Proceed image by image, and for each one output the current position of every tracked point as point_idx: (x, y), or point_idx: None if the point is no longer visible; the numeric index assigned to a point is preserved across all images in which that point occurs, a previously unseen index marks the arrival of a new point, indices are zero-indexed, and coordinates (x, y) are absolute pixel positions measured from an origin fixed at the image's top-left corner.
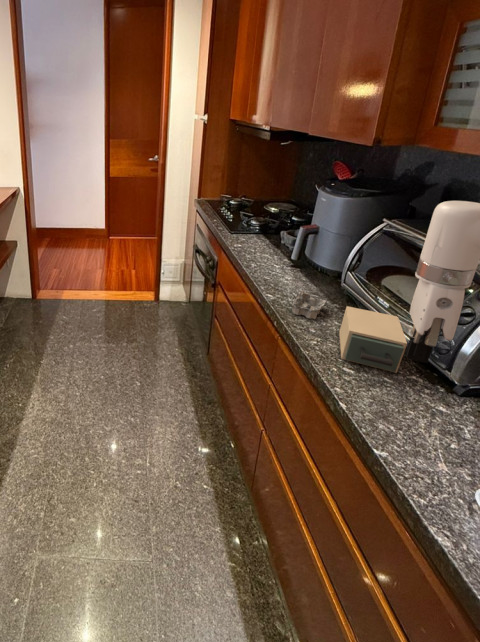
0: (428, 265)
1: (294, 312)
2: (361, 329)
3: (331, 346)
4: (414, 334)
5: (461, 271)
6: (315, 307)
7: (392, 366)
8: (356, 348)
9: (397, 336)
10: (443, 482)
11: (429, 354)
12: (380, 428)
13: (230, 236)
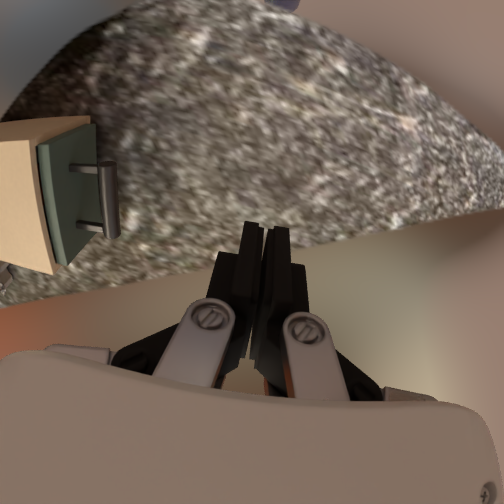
0: None
1: (10, 281)
2: (30, 246)
3: None
4: (224, 378)
5: None
6: None
7: (88, 137)
8: (81, 232)
9: (10, 161)
10: (442, 143)
11: (290, 258)
12: (328, 203)
13: None
